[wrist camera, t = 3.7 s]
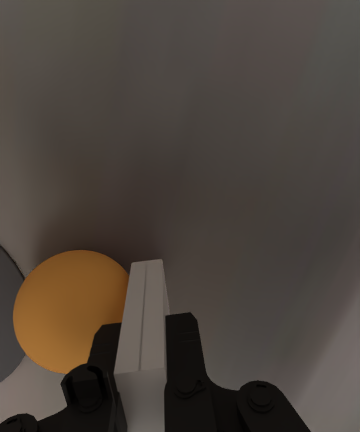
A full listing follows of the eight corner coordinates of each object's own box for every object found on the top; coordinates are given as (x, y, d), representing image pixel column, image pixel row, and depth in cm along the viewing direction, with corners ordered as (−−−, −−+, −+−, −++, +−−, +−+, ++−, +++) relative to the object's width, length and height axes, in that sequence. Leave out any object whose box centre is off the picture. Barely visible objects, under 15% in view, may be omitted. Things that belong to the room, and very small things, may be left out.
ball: (158, 376, 15) (24, 424, 13) (131, 312, 20) (33, 340, 18) (142, 264, 13) (-14, 303, 11) (117, 225, 18) (7, 247, 16)
